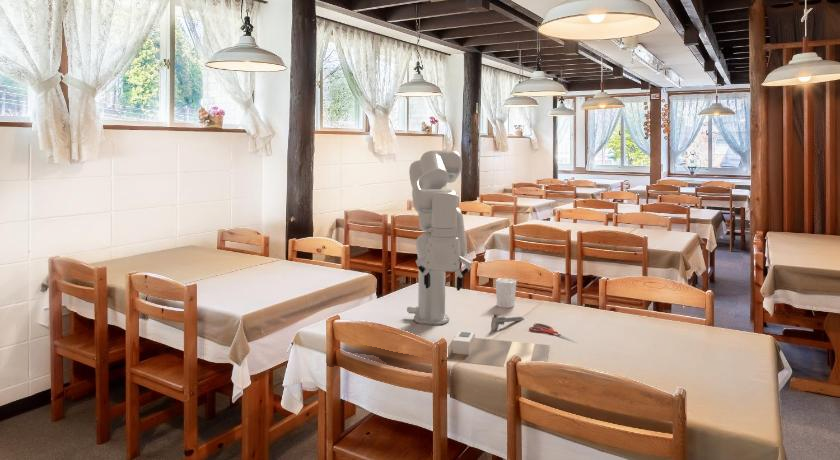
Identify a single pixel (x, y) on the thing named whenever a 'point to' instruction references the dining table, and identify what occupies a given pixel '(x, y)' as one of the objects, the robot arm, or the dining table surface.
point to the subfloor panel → (499, 352)
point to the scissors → (547, 331)
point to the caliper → (502, 321)
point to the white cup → (505, 292)
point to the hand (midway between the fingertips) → (443, 288)
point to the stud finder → (463, 342)
